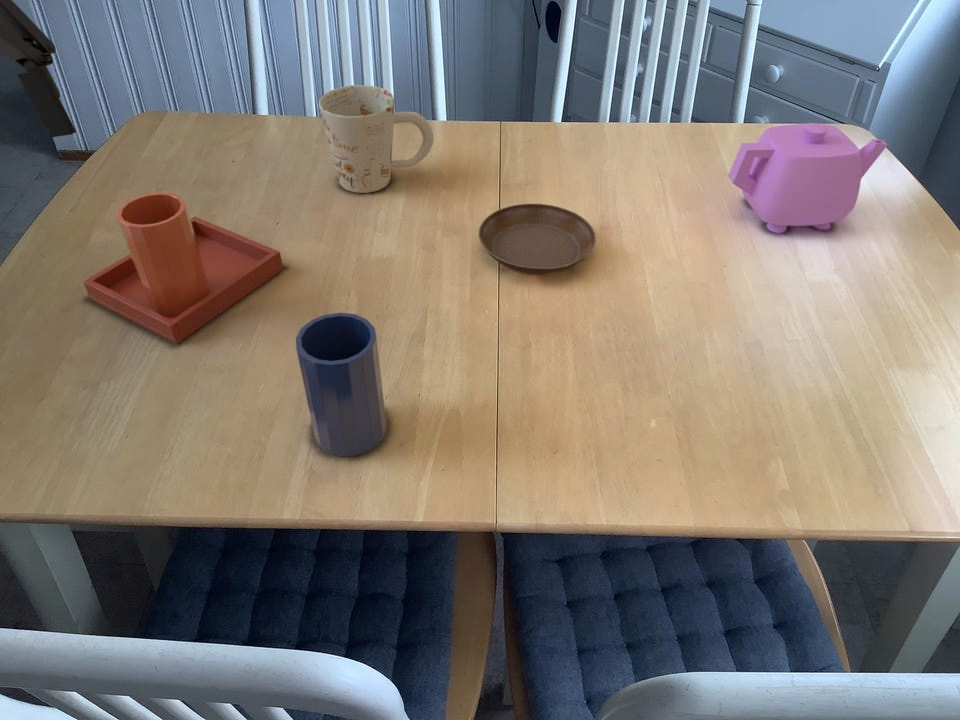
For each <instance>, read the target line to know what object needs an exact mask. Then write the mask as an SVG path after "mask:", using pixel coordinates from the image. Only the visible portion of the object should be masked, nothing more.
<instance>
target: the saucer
mask: <svg viewBox="0 0 960 720" xmlns="http://www.w3.org/2000/svg"><path fill="white" fill-rule="evenodd" d="M596 236H597V235H596V233H595V230H594V228H593V226H592V224H590V222H589V221H587V220H586V219H585V218H584V217H582V216H581V215H579V214H577V212H574V211H571V210H569V209H566V208H563V207H560V206H557V205H553V204H546V203H519V204H513V205H509V206H505V207H503V208H502V207H501V208H500V209H497V210H496V211H494V212H492V213H491V214H489V215H488V216H486V217H485V219H483V221H482V222H481V224H480V225H479V228H478V239H479V242H480V244H481V246H482V247H483V248H484V250H485V251H486V253H488V255H490V257H492V258H493V259H494V260H495V261H496V262H497V263H499V264H501V265H502V266H504V267H506V268H508V269H510V270H512V271H515V272H518V273H522V274H526V275H533V276H535V275H536V276H537V275H538V276H543V275H553V274H557V273H560V272H563V271H566V270H568V269H571V268H573V267H574V266H576V265H577V264H579V263H580V262H582V261H583V260H584V259H586V257H587V256H589V255H590V254H591V253H592V252H593V250H594V248H595V246H596V242H597V241H596V240H597V237H596Z"/></svg>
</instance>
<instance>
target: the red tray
mask: <svg viewBox="0 0 960 720" xmlns="http://www.w3.org/2000/svg"><path fill="white" fill-rule="evenodd" d="M190 220H191V223H192V227H193V230H194V234H195V237H196V241H197V244H198V248H199V251H200V255H201V258H202V262H203V265H204V269H205V272H206V276H207V279H208V283H209V286H210V293H211V294H209V295H208V296H206V297H205V298H203V299H202V300H200V301H199V302H197V303H196V304H194V305H193V306H192V307H190V308H189V309H187V310H186V311H184V312H183V313H181V314H180V315H178V316H163V315H160V314H158V313H156V312H154V311H152V310H151V308H150V307H149V304H148V302H147V300H146V297H145V294H144V292H143V289H142V286H141V283H140V281H139V278H138V275H137V272H136V269H135V267H134V264H133V261H132V258H131V256H130V253H129V254H127V255H126V256H124V257H122V258H120V259H119V260H117V261H116V262H114V263H112V264H110V265H109V266H107V267H105V268H104V269H102V270H101V271H98V272H97V273H95V274H93V275H91V276H90V277H88V278H87V279H85V280H83V281H82V282H83V283H82V284H83V285H84V287H85V290H86V293H87V295H88V297H89V300H91V301H93V302H95V303H97V304H98V305H101V306H102V307H104V308H107V309H109V310H110V311H112V312H115V313H116V314H118V315H120V316H122V317H124V318H126V319H127V320H130V321H132V322H133V323H135V324H137V325H139V326H140V327H143V328H145V329H147V330H149V331H151V332H152V333H154V334H156V335H158V336H160V337H163V338H165V339H166V340H168V341H170V342H172V343H174V344H176V345H178V344H179V343H180V342H182V341H183V340H185V339H186V338H187V337H189V336H190V335H192V334H193V333H194V332H196V331H197V330H199V329H200V328H202V327H203V326H205V325H206V324H207V323H209V322H210V321H212V320H213V319H215V317H217V316H219V315H220V314H222V313H223V312H224V311H226V310H227V309H229V308H230V307H232V305H234V304H236V303H238V302H239V301H240V300H241V299H243V298H245V297H246V296H247V295H248V294H250V293H252V292H253V291H254V290H256V289H257V288H259V287H260V286H261V285H263V284H264V283H266V282H267V281H269V280H270V279H271V278H273V277H274V276H276V275H277V274H278V273H280V272H281V271H282V270H284V266H283V265H284V264H283V260H282V256H281V251H279V250H276V249H274V248H272V247H270V246H267V245H264V244H262V243H259V242H257V241H256V240H253V239H250V238H247V237H245V236H243V235H241V234H238V233H235V232H234V231H231V230H229V229H227V228H224V227H221V226H219V225H216V224H215V223H212V222H210V221H207V220H205V219H202V218H200V217H198V216H193V217H190Z"/></svg>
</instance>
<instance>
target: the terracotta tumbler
mask: <svg viewBox="0 0 960 720" xmlns="http://www.w3.org/2000/svg"><path fill="white" fill-rule="evenodd" d="M116 219H117V222H118V225H119V228H120V230H121V233H122V236H123V239H124V241H125V244H126V247H127V250H128V253H129V254H130V256H131V258H132V261H133V264H134V267H135V269H136V272H137V275H138V278H139V281H140V283H141V286H142V289H143V292H144V294H145V297H146V300H147V302H148V304H149V307H150V308H151V310H152V311H154V312H156V313H158V314H160V315H163V316H178V315H180V314H181V313H183V312H184V311H186V310H187V309H189V308H190V307H192V306H193V305H194V304H196V303H197V302H199V301H200V300H202V299H203V298H205V297H206V296H208V295H209V294H211V293H210V286H209V283H208V279H207V276H206V272H205V269H204V265H203V262H202V258H201V255H200V251H199V248H198V244H197V241H196V237H195V234H194V230H193V227H192V223H191V220H190V219H191V217H190V213H189V209H188V207H187V203H186V201H185V200H184V198H183V197H182V196H180V195H177V194H176V193H172V192H163V191H162V192H161V191H158V192H150V193H145V194H142V195H139V196H135V197H133V198H130V199H129V200H127V201H125V202H124V203H123V204H122V205H121V206H120V207H119V208H118V209H117V212H116Z"/></svg>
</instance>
